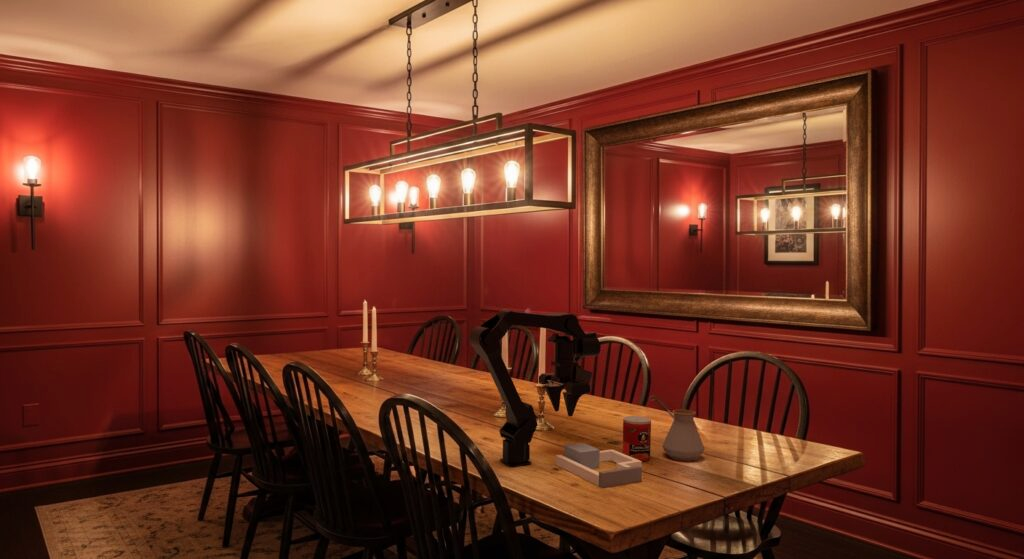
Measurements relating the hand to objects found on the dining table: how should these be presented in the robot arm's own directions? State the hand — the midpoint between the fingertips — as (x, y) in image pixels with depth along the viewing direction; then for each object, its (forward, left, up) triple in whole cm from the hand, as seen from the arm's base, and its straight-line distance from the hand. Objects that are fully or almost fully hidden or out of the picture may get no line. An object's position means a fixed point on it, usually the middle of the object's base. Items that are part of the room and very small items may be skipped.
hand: (563, 413), depth 199 cm
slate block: (0, -9, -12) cm, 15 cm away
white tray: (+3, -17, -12) cm, 21 cm away
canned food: (+18, -10, -12) cm, 24 cm away
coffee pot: (+31, -10, -12) cm, 35 cm away
